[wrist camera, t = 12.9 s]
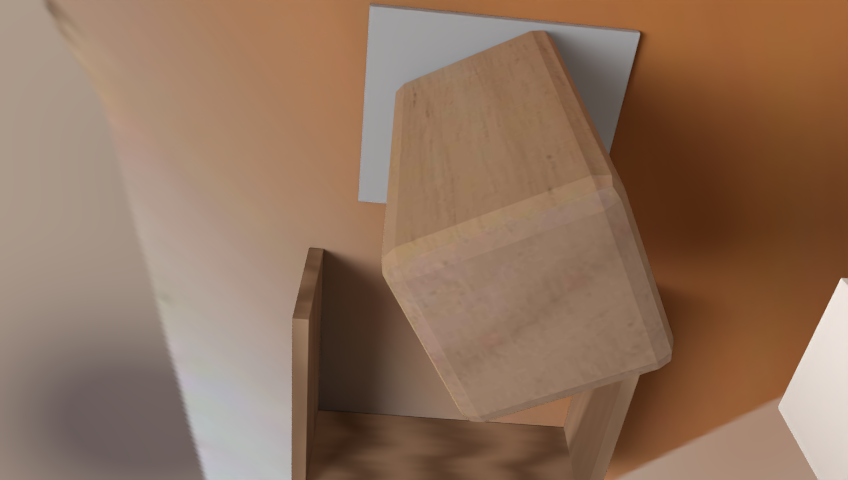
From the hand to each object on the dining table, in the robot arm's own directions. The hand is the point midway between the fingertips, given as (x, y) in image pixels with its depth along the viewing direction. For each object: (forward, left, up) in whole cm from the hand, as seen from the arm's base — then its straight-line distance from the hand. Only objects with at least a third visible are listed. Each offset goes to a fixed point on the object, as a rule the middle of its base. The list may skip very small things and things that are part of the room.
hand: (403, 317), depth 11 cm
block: (-6, +11, -35) cm, 37 cm away
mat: (-6, +11, -35) cm, 37 cm away
